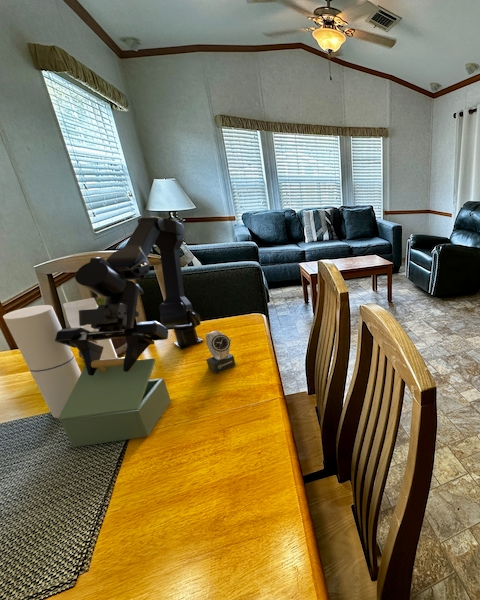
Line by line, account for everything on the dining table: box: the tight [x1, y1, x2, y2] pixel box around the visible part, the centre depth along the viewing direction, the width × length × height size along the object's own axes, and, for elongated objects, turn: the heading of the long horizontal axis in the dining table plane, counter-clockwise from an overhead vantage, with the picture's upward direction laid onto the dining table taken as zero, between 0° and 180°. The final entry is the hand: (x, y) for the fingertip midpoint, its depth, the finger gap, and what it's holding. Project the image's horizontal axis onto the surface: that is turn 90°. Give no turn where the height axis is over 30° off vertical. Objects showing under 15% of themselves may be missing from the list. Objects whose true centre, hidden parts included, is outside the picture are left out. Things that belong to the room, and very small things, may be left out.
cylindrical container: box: [2, 304, 82, 419], centre depth 73 cm, size 7×7×25 cm
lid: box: [57, 356, 157, 421], centre depth 68 cm, size 12×14×4 cm
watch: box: [205, 330, 236, 375], centre depth 91 cm, size 6×8×11 cm
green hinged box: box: [59, 377, 172, 448], centre depth 72 cm, size 12×14×7 cm
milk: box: [62, 297, 119, 360], centre depth 87 cm, size 6×6×22 cm
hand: (108, 373), depth 69 cm, fingers closed on lid, 6 cm apart
